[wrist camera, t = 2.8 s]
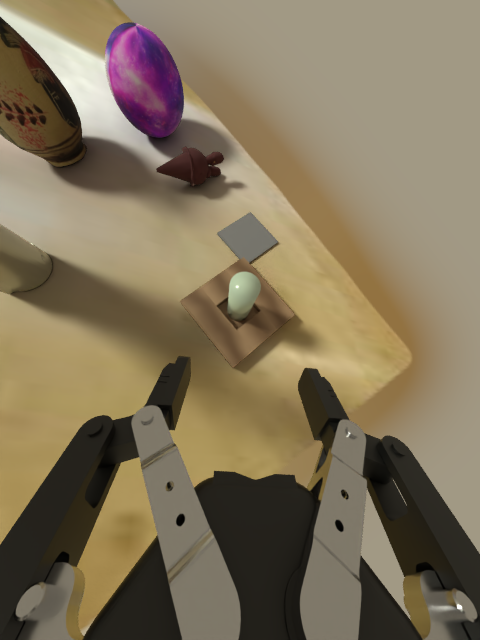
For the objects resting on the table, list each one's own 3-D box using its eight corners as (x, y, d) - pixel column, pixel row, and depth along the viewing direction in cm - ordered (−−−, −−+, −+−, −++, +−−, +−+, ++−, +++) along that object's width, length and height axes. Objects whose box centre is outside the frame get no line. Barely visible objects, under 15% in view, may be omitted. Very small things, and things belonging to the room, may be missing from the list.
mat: (245, 265, 40) (245, 264, 39) (217, 234, 41) (217, 232, 41) (277, 242, 42) (278, 241, 42) (250, 213, 43) (250, 212, 43)
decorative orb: (200, 138, 47) (191, 39, 33) (151, 162, 44) (116, 63, 29) (166, 104, 49) (143, -5, 35) (116, 124, 46) (67, 13, 31)
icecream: (158, 174, 36) (229, 168, 39) (147, 136, 35) (219, 134, 39) (164, 198, 42) (224, 191, 46) (154, 166, 42) (215, 162, 46)
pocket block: (232, 367, 34) (233, 367, 32) (182, 304, 36) (179, 301, 34) (291, 317, 38) (295, 314, 36) (242, 262, 40) (243, 256, 38)
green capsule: (236, 325, 36) (243, 307, 24) (222, 308, 36) (223, 283, 25) (252, 312, 37) (267, 288, 25) (239, 296, 37) (247, 266, 26)
